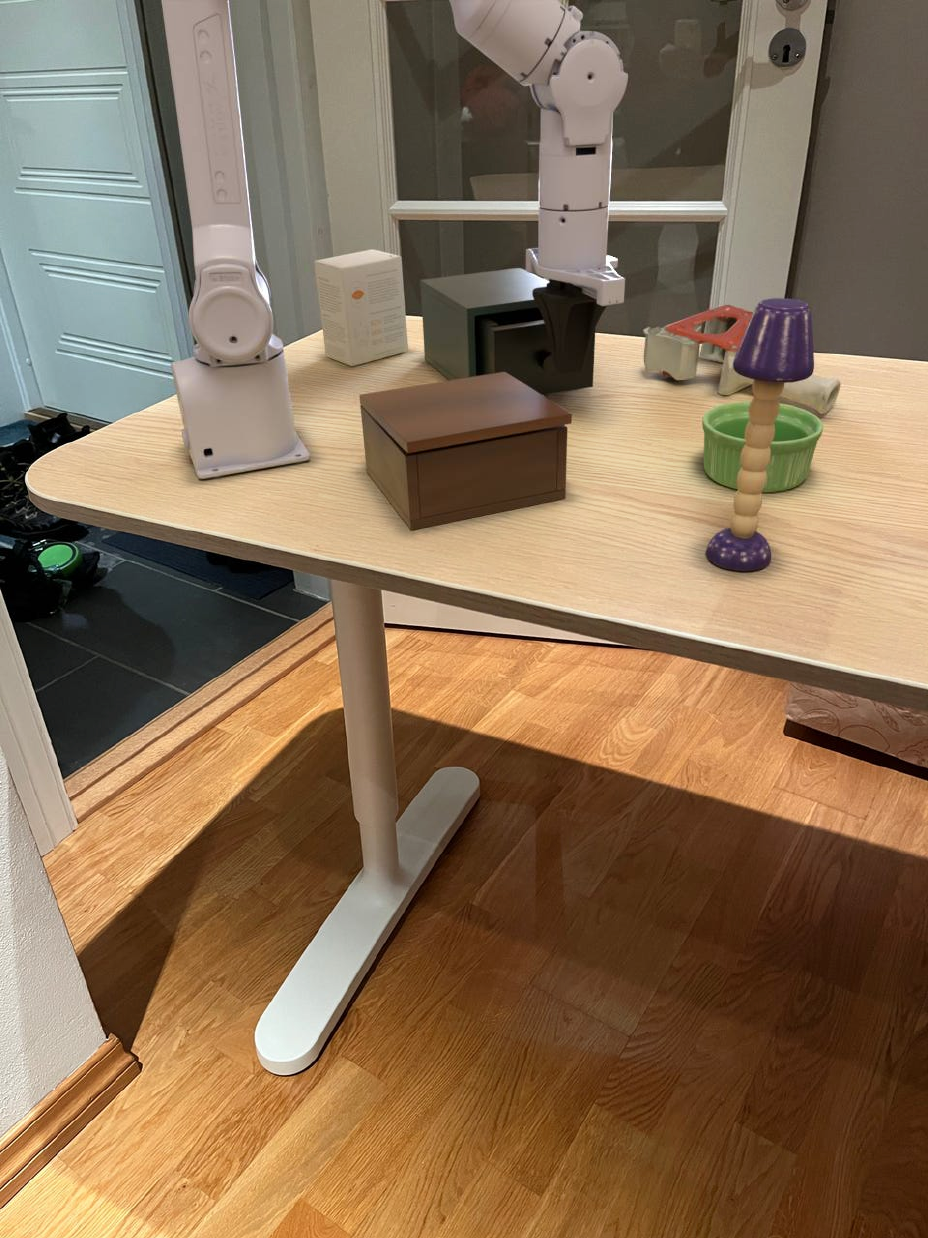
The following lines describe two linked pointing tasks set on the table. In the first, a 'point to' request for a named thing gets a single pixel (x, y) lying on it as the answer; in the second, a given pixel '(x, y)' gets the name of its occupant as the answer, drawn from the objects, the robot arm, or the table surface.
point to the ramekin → (787, 448)
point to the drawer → (525, 352)
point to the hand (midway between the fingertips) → (568, 370)
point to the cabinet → (468, 313)
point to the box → (466, 474)
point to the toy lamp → (762, 420)
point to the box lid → (462, 411)
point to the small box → (362, 306)
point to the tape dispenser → (722, 355)
